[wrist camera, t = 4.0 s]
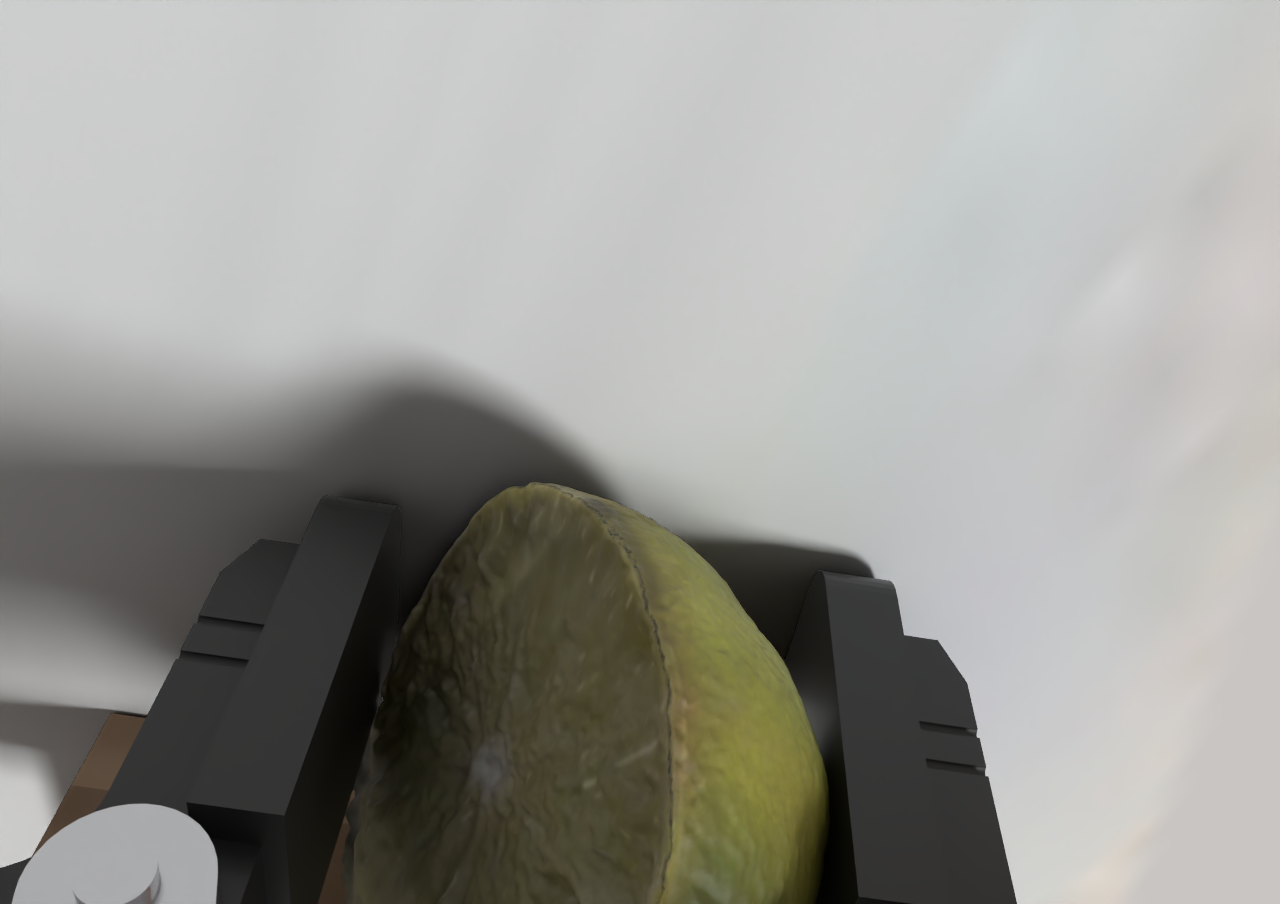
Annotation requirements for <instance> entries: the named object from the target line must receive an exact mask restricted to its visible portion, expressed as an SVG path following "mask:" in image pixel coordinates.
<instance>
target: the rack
mask: <svg viewBox="0 0 1280 904" xmlns="http://www.w3.org/2000/svg"><path fill="white" fill-rule="evenodd" d="M145 719H146V718H141V717H134V716H127V715H120V714H113V713H110V715H109V717H108V719H107V721H106V723H105V724H104V726H103V728H102V730H101V732H100V734H99V735H98V737H97V739H96V741H95V743H94V744H93V746H92V748H91V750H90V752H89V754H88V755H87V757H86V759H85V761H84V763H83V764H82V766H81V768H80V770H79V772H78V774H77V775H76V777H75V779H74V781H73V783H72V784H71V786H70V788H69V790H68V792H67V794H66V795H65V797H64V799H63V801H62V803H61V804H60V806H59V808H58V810H57V812H56V814H55V815H54V817H53V819H52V821H51V823H50V824H49V826H48V828H47V830H46V832H45V834H44V835H43V837H42V839H41V841H40V843H39V844H38V846H37V848H36V850H35V852H34V854H35V853H36V852H37V851H38V850H39V849H40V848H41V847H42V846H43V845H44V844H45V843H46V842H47V841H48V840H49V839H50V838H51V837H52V836H54V835H55V834H56V833H58V832H59V831H60V830H62V829H63V828H64V827H66V826H68V825H69V824H71V823H73V822H75V821H76V820H78V819H80V818H82V817H84V816H87V815H89V814H91V813H93V812H94V811H95V810H96V809H97V807H98V806H99V805H100V804H101V802H102V801H103V799H104V797H105V796H106V794H107V793H108V791H109V789H110V787H111V785H112V783H113V781H114V779H115V777H116V776H117V774H118V772H119V770H120V768H121V766H122V764H123V762H124V760H125V758H126V756H127V754H128V752H129V750H130V748H131V746H132V744H133V742H134V740H135V738H136V736H137V734H138V733H139V731H140V729H141V727H142V725H143V723H144V721H145ZM354 793H355V791H354V790H352V794H351V797H350V800H349V803H348V806H349V804H350V802H351V801H352V800H353V799H354V798H355V794H354ZM347 808H348V807H347ZM349 831H350V825H349V823H348V821H347V819H346V816H344V820H343V823H342V826H341V829H340V833H339V836H338V839H337V842H336V846H335V849H334V852H333V855H332V859H331V862H330V865H329V868H328V872H327V875H326V878H325V881H324V885H323V888H322V891H321V894H320V898H319V901H318V904H345V890H346V889H345V887H344V885H343V882H342V878H341V875H342V869H343V866H342V860H341V859H342V856H343V853H344V849H345V840H346V837H347V834H348V833H349ZM34 854H33V855H32V857H33V856H34Z"/></svg>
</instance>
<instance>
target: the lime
mask: <svg viewBox="0 0 1280 904" xmlns="http://www.w3.org/2000/svg"><path fill="white" fill-rule="evenodd" d="M381 696H382V697H383V700H384V701H383V703H381V704H380V706H379V708H378V711H377V713H376V715H375V719H374V722H373V725H372V728H371V732H370V735H369V738H368V741H367V745H366V748H365V751H364V755H363V758H362V761H361V764H360V768H359V771H358V774H357V777H356V781H355V784H354V787H353V790H354V791H355V793H354V794H355V798H354V799H353V800H352V801H351V802H350V804H349V806H348V808H347V810H346V813H345V816H346V819H347V821H348V823H349V825H350V831H349V833H348V834H347V837H346V840H345V849H344V853H343V856H342V859H341V860H342V866H343V869H342V875H341V878H342V882H343V885H344V887H345V889H346V890H345V904H816V900H817V897H818V893H819V888H820V884H821V879H822V875H823V871H824V853H825V850H826V848H827V845H828V836H829V829H830V813H829V786H828V782H827V774H826V771H825V767H824V763H823V759H822V756H821V754H820V750H819V745H818V743H817V741H816V737H815V734H814V731H813V728H812V727H811V724H810V721H809V719H808V717H807V714H806V711H805V708H804V705H803V702H802V699H801V697H800V695H799V694H798V690H797V688H796V686H795V684H794V682H793V680H792V678H791V675H790V673H789V671H788V668H787V667H786V665H785V663H784V661H783V660H782V658H781V657H780V655H779V654H778V652H777V651H776V649H775V648H774V647H773V645H772V644H771V643H770V642H769V641H768V640H767V639H766V637H765V636H764V635H763V634H762V633H761V632H760V631H759V630H758V628H757V626H756V624H755V623H754V622H753V620H752V619H751V618H750V617H749V616H748V615H747V613H746V612H745V610H744V609H743V608H742V606H741V605H740V603H739V601H738V600H737V599H736V597H735V596H734V594H733V592H732V590H731V589H730V587H729V585H728V584H727V583H726V581H725V580H723V579H722V578H721V577H720V576H719V574H718V573H717V572H716V570H715V569H714V568H713V567H712V566H711V565H710V564H709V563H708V562H707V561H706V560H705V559H704V558H702V556H700V555H699V554H698V553H696V552H695V550H694V549H693V548H692V547H691V546H689V545H688V544H687V543H686V542H685V541H683V540H682V539H681V538H679V537H678V536H677V535H674V534H672V533H671V532H669V531H668V530H667V529H666V528H664V527H661V526H660V525H659V524H657V523H656V522H655V521H653V520H652V519H650V518H647V517H646V516H644V515H643V514H641V513H639V512H637V511H634V510H632V509H629V508H626V507H624V506H622V505H620V504H618V503H616V502H614V501H611V500H608V499H603V498H601V497H598V496H595V495H591V494H588V493H584V492H581V491H577V490H575V489H572V488H570V487H566V486H561V485H558V484H553V483H539V482H530V483H529V484H528V485H527V486H526V487H521V486H513V487H508V488H507V489H505V490H504V491H502V492H500V493H499V494H498V495H496V496H495V497H494V498H492V499H490V500H489V501H487V502H486V503H485V504H484V505H483V506H482V508H481V509H480V510H479V511H478V512H477V513H476V514H475V515H474V516H473V517H472V519H471V520H470V522H469V524H468V526H467V528H466V529H465V530H464V532H463V533H462V534H461V535H460V537H459V538H458V539H457V540H456V541H455V542H454V544H453V546H452V547H451V548H450V549H449V550H448V552H447V553H446V555H445V556H444V557H443V559H442V561H441V562H440V564H439V565H438V567H437V569H436V571H435V572H434V574H433V575H432V577H431V579H430V581H429V583H428V585H427V587H426V589H425V590H424V592H423V595H422V597H421V599H420V601H419V602H418V604H417V605H416V606H415V607H414V608H413V609H412V610H411V613H410V615H409V616H408V618H407V620H406V622H405V624H404V625H403V627H402V630H401V634H400V637H399V639H398V642H397V646H396V649H395V651H394V652H393V655H392V662H391V666H390V669H389V672H388V674H387V676H386V678H385V680H384V682H383V687H382V689H381Z"/></svg>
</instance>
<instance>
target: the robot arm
mask: <svg viewBox="0 0 1280 904" xmlns="http://www.w3.org/2000/svg"><path fill="white" fill-rule="evenodd" d="M400 553H401V510H400V507H399V506H395V505H388V504H382V503H375V502H368V501H362V500H355V499H348V498H342V497H335V496H328V495H326V496H324V497H323V498H322V499H321V500H320V502H319V504H318V506H317V508H316V510H315V512H314V514H313V517H312V519H311V521H310V523H309V526H308V528H307V530H306V532H305V535H304V537H303V539H302V541H301V544H300V545H298V544H292V543H285V542H278V541H271V540H264V539H260V540H259V541H258V542H256V543H255V544H254V545H253V546H252V547H250V548H249V549H248V550H247V551H246V552H244V553H243V554H242V555H241V556H240V557H238V558H237V559H236V560H235V561H234V562H232V563H231V564H230V565H229V566H228V567H226V568H225V569H224V570H223V571H222V572H220V574H219V576H218V578H217V580H216V582H215V584H214V586H213V588H212V590H211V592H210V594H209V596H208V598H207V600H206V601H205V603H204V605H203V607H202V609H201V611H200V613H199V618H198V622H197V624H194V625H193V627H192V629H191V631H190V633H189V635H188V637H187V639H186V641H185V643H184V644H183V646H182V648H181V654H180V657H179V659H176V660H175V662H174V664H173V666H172V668H171V670H170V672H169V674H168V676H167V678H166V680H165V682H164V684H163V686H162V688H161V689H160V691H159V693H158V695H157V697H156V699H155V701H154V703H153V705H152V707H151V709H150V711H149V713H148V715H147V717H146V719H145V721H144V723H143V725H142V727H141V729H140V731H139V733H138V734H137V736H136V738H135V740H134V742H133V744H132V746H131V748H130V750H129V752H128V754H127V756H126V758H125V760H124V762H123V764H122V766H121V768H120V770H119V772H118V774H117V776H116V777H115V779H114V781H113V783H112V785H111V787H110V789H109V791H108V793H107V794H106V796H105V797H104V799H103V801H102V802H101V804H100V805H99V806H98V807H97V809H96V810H95V811H94V812H93V813H91V814H89V815H87V816H84V817H82V818H80V819H78V820H76V821H75V822H73V823H71V824H69V825H68V826H66V827H64V828H63V829H62V830H60V831H59V832H58V833H56V834H55V835H54V836H52V837H51V838H50V839H49V840H48V841H47V842H46V843H45V844H44V845H43V846H42V847H41V848H40V849H39V850H38V851H37V852H36V853H35V854H34V856H33V857H30V858H28V859H26V860H24V861H21V862H18V863H15V864H12V865H9V866H6V867H2V868H0V904H318V901H319V898H320V894H321V891H322V888H323V885H324V881H325V878H326V875H327V872H328V868H329V865H330V862H331V859H332V855H333V852H334V849H335V846H336V842H337V839H338V836H339V833H340V829H341V826H342V823H343V820H344V816H345V813H346V810H347V807H348V803H349V800H350V797H351V794H352V790H353V787H354V784H355V781H356V777H357V774H358V771H359V768H360V764H361V761H362V758H363V755H364V751H365V748H366V745H367V741H368V738H369V735H370V732H371V728H372V725H373V722H374V719H375V715H376V712H377V709H378V706H379V702H380V699H381V689H382V687H383V682H384V680H385V678H386V676H387V674H388V672H389V669H390V665H391V661H392V655H393V651H394V646H395V640H396V634H397V626H398V616H399V587H400ZM785 665H786V667H787V668H788V671H789V673H790V675H791V678H792V680H793V682H794V684H795V686H796V688H797V690H798V694H799V695H800V697H801V699H802V702H803V705H804V708H805V711H806V714H807V717H808V719H809V721H810V724H811V727H812V728H813V731H814V734H815V737H816V741H817V743H818V745H819V750H820V754H821V756H822V759H823V763H824V767H825V771H826V774H827V782H828V786H829V813H830V829H829V836H828V845H827V848H826V850H825V853H824V871H823V875H822V879H821V884H820V888H819V893H818V897H817V900H816V904H1017V902H1016V897H1015V893H1014V889H1013V884H1012V880H1011V875H1010V871H1009V866H1008V862H1007V858H1006V853H1005V849H1004V844H1003V840H1002V835H1001V831H1000V827H999V822H998V818H997V813H996V809H995V804H994V800H993V796H992V791H991V787H990V782H989V778H988V777H987V776H985V768H986V765H985V760H984V756H983V751H982V747H981V742H980V738H977V736H976V733H977V725H976V720H975V716H974V712H973V707H972V703H971V698H970V694H969V689H968V685H967V682H966V681H965V679H964V678H963V677H962V675H961V674H960V672H959V671H958V669H957V668H956V666H955V665H954V663H953V662H952V661H951V659H950V658H949V656H948V655H947V653H946V652H945V650H944V649H943V647H942V646H941V644H940V643H939V642H938V640H932V639H925V638H919V637H912V636H905V635H904V633H903V627H902V621H901V616H900V610H899V604H898V599H897V594H896V589H895V587H894V585H893V583H892V582H891V581H887V580H881V579H874V578H867V577H861V576H854V575H847V574H841V573H834V572H827V571H821V570H820V571H818V572H816V574H815V575H814V577H813V579H812V582H811V584H810V587H809V590H808V593H807V596H806V599H805V602H804V605H803V608H802V611H801V614H800V617H799V620H798V623H797V626H796V629H795V632H794V635H793V639H792V642H791V645H790V648H789V651H788V654H787V657H786V660H785Z"/></svg>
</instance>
